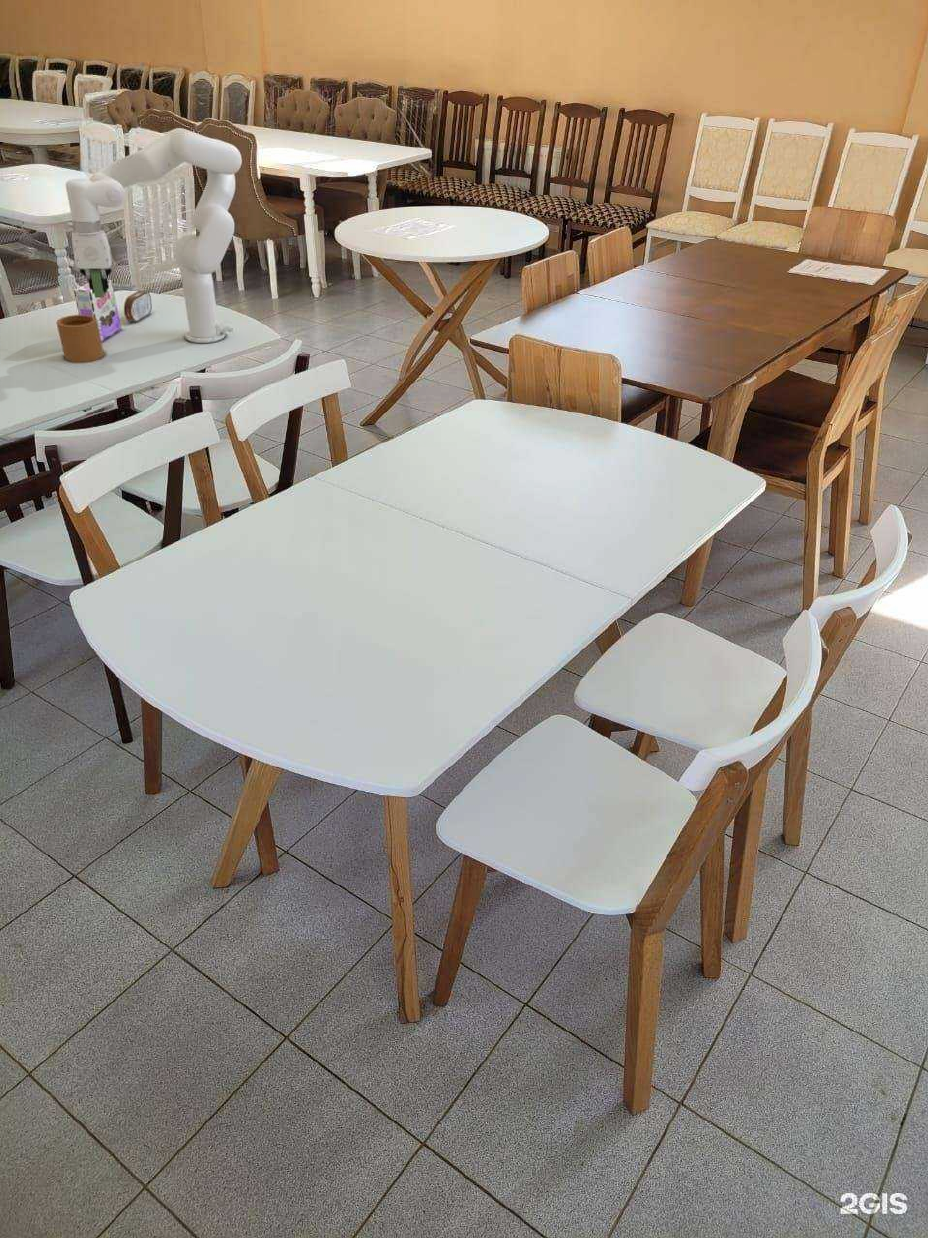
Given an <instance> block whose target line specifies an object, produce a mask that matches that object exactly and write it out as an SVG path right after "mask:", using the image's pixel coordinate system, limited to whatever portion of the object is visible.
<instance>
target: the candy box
mask: <svg viewBox="0 0 928 1238" xmlns="http://www.w3.org/2000/svg"><path fill="white" fill-rule="evenodd" d="M107 280H108V286H109V289H107V292H106V294H105V296H104V298H95V294H94V293H93V292H92V289H90V287H89V282H87V283H86V284H83V285H81V286H80V287H77V288H75V289H73V293H74V298H75V304H76V306H77V307H76V308H77V312H78V315H90V316H93V317H96V319H97V324H98V328H99V333H100V338H101V342H104V341H105V340H107V339H108V338H110V337H112V336H114V335H116V333H118V332H120V331H121V330H122V326H121V321H120V317H119V311H118V306H117V301H116V295H115V291H114V286H113V281H112V279H107Z"/></svg>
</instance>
